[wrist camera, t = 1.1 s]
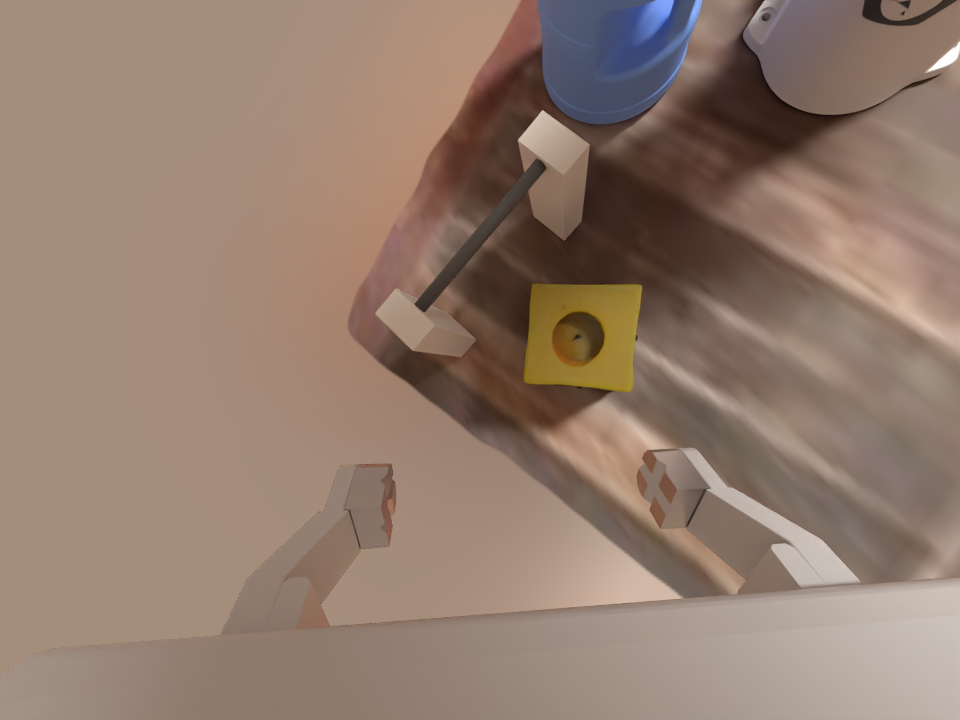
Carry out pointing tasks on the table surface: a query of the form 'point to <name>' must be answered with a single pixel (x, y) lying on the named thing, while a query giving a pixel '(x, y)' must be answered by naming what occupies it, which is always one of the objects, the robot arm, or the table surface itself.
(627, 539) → the table surface
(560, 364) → the candle
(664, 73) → the water jug
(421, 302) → the frame
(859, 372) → the table surface
